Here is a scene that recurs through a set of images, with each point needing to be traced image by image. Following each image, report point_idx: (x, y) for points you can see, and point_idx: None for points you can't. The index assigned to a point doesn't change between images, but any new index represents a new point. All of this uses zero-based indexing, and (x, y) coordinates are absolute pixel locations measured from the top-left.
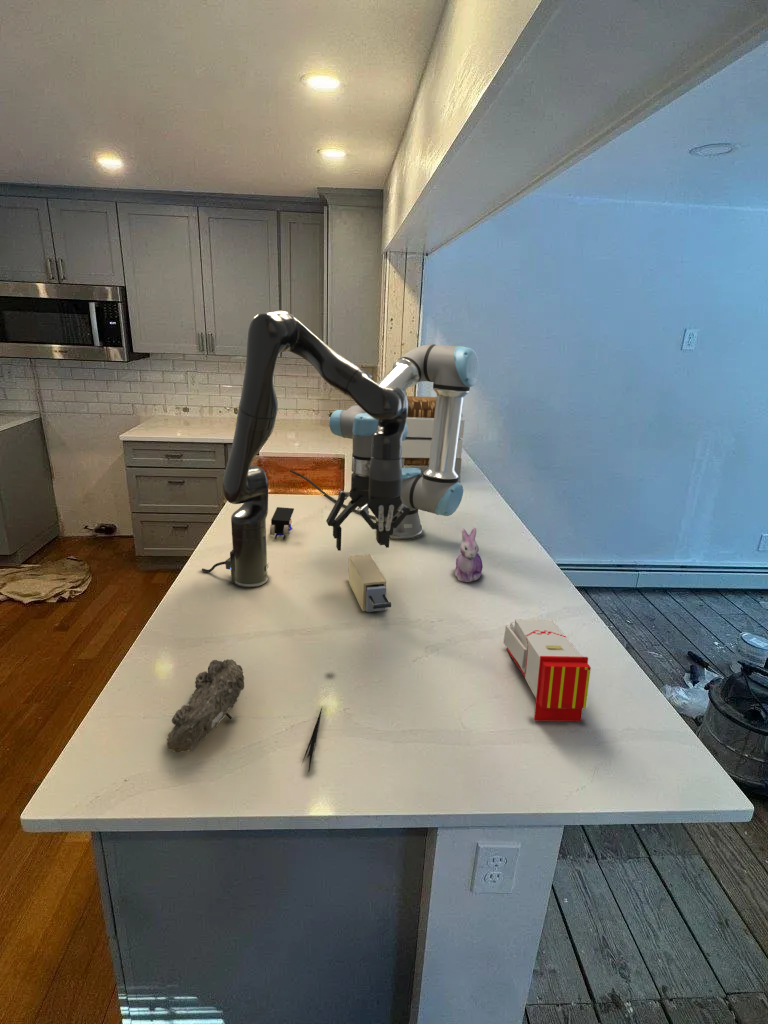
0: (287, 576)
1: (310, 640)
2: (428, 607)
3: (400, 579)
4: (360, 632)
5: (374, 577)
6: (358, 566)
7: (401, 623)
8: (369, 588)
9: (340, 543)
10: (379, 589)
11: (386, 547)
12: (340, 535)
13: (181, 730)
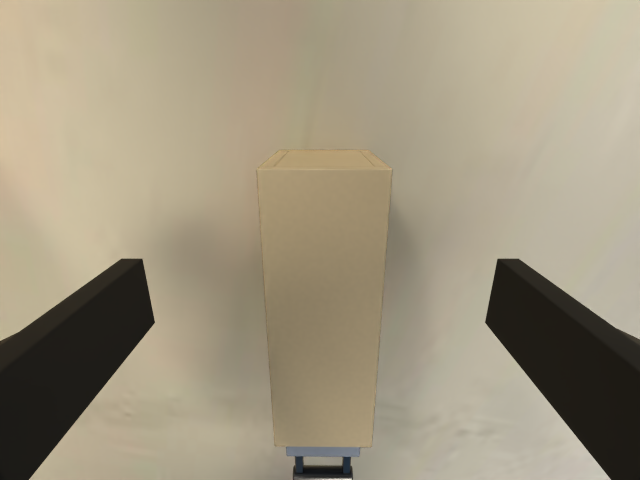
0: (2, 36)
1: (133, 446)
2: (492, 372)
3: (502, 171)
4: (260, 439)
5: (332, 415)
6: (284, 311)
7: (377, 425)
8: (295, 451)
9: (120, 359)
10: (332, 453)
11: (486, 322)
12: (69, 419)
13: None
